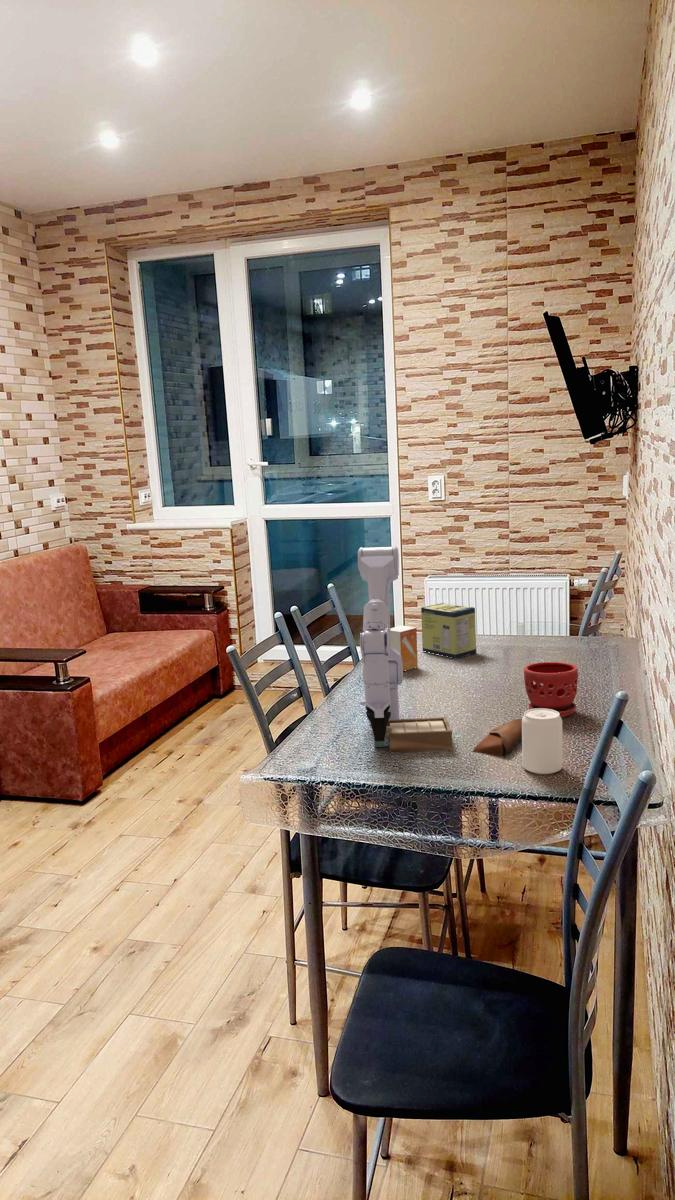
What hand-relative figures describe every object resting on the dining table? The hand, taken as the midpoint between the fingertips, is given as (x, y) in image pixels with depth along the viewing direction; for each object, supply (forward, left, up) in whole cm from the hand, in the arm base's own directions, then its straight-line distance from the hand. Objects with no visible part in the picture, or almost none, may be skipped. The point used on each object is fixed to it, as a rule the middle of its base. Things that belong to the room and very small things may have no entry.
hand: (379, 738), depth 185 cm
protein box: (-85, +27, -2) cm, 89 cm away
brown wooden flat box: (0, +9, -2) cm, 9 cm away
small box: (-67, +10, -2) cm, 68 cm away
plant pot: (-18, +44, -2) cm, 48 cm away
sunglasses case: (+1, +28, -2) cm, 28 cm away
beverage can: (+18, +33, -2) cm, 38 cm away
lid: (0, +7, -1) cm, 7 cm away
